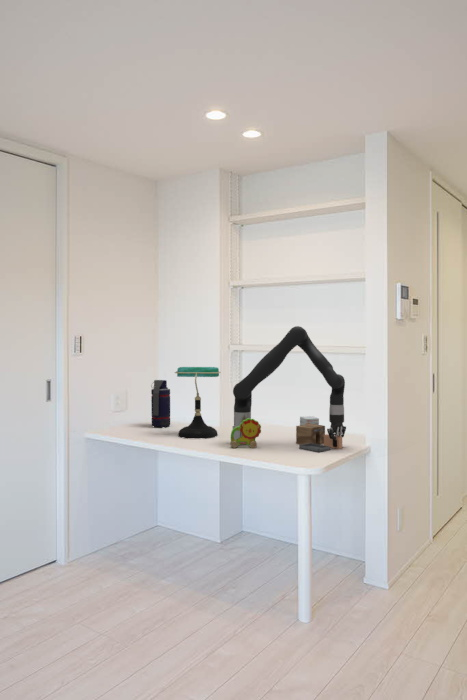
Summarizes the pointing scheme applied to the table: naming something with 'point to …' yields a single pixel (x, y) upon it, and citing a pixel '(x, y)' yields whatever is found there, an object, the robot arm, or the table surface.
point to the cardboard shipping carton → (310, 434)
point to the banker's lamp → (197, 404)
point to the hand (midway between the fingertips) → (336, 446)
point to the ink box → (309, 420)
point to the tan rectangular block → (330, 441)
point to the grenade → (160, 403)
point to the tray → (314, 447)
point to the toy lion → (246, 433)
